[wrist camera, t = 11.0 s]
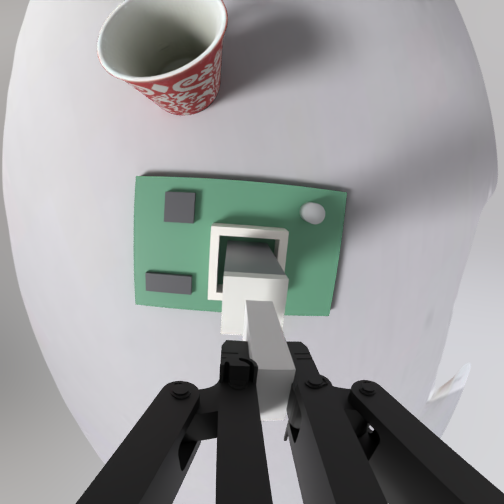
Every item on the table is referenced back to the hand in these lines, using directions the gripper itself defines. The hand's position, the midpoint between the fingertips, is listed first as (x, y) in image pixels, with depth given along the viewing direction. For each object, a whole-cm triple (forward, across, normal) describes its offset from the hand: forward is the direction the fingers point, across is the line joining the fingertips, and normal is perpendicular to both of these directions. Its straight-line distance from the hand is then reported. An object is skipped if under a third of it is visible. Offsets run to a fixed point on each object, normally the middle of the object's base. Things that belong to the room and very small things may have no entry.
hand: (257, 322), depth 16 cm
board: (+15, -1, +1) cm, 15 cm away
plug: (+14, 0, 0) cm, 14 cm away
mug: (+15, -8, +20) cm, 27 cm away
